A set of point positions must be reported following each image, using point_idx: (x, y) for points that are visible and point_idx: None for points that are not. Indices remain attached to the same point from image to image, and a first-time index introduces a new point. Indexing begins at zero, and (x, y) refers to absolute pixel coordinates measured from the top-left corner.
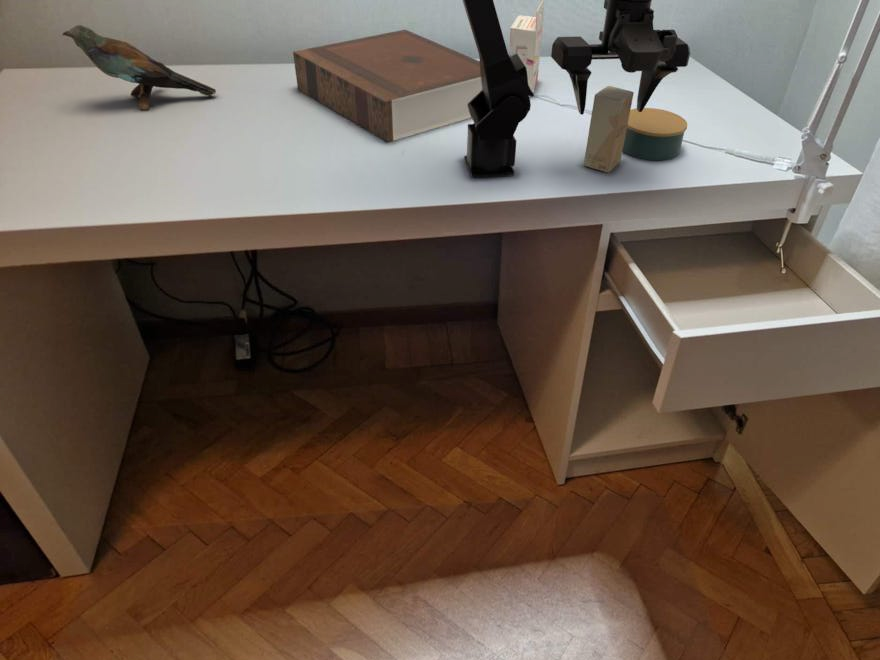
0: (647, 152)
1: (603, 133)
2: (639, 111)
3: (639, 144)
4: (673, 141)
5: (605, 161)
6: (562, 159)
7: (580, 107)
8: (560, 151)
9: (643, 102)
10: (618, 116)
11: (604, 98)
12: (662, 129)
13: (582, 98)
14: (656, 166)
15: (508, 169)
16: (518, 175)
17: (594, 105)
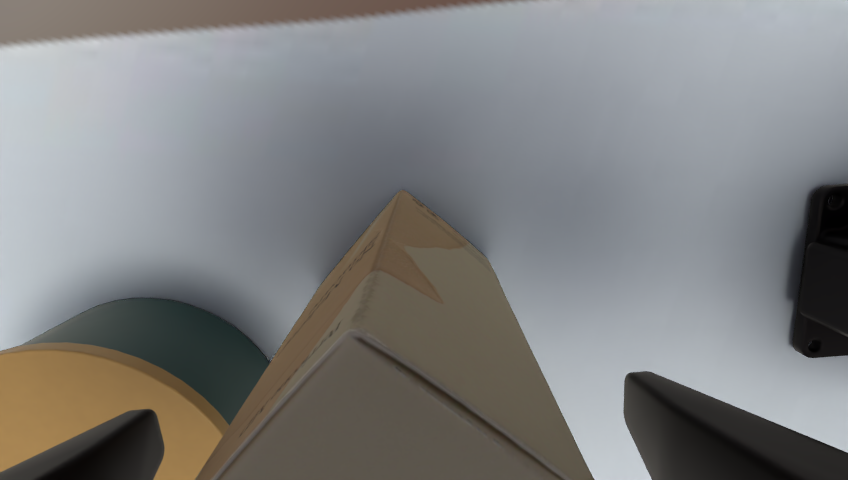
0: (183, 320)
1: (450, 269)
2: (150, 410)
3: (209, 355)
4: (26, 342)
5: (417, 208)
6: (555, 325)
7: (702, 395)
8: None
9: (76, 450)
10: (372, 268)
11: (520, 433)
12: (51, 401)
13: (778, 436)
14: (166, 245)
15: (838, 218)
16: (787, 193)
17: (563, 425)
